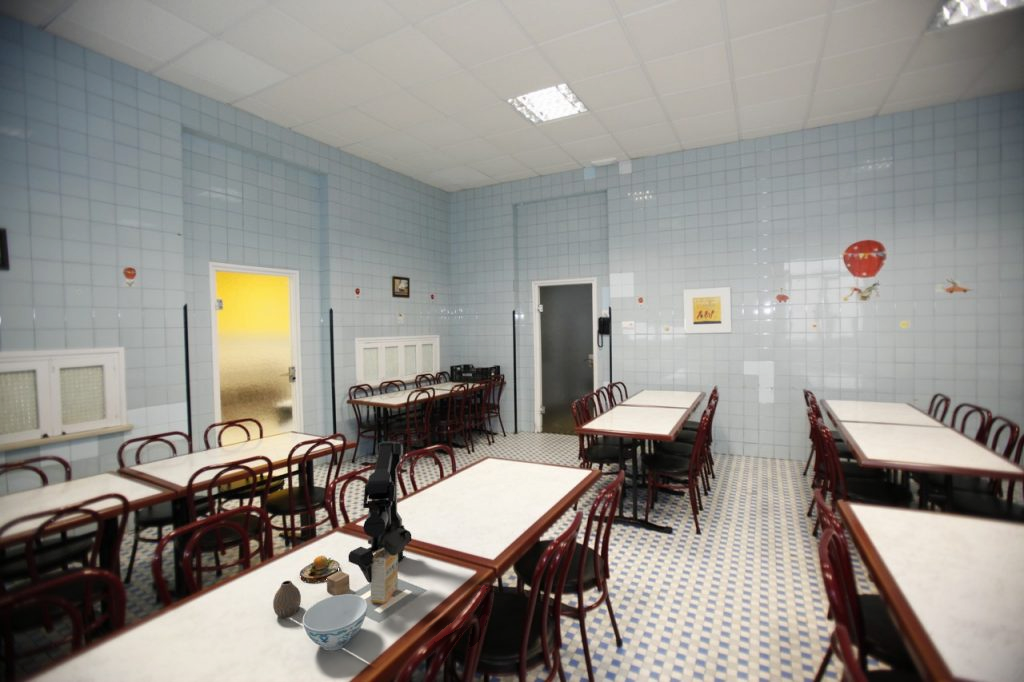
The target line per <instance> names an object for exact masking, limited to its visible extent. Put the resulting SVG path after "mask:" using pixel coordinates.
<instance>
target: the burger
mask: <svg viewBox="0 0 1024 682" xmlns="http://www.w3.org/2000/svg"><path fill="white" fill-rule="evenodd" d="M331 558H332V557H329V558H327V557H326V555H325V556H324V555H318V556H315V558H314V559H313V562H312V563H309V564H308V565H306V566H304V567H303V568H302V569H301V570H300V572H299V577H300V576H301V577H300V578H301V579H302V580H303V582H304V581H306V582H305V583H307V582H308V583H312V582H314V583H315V582H317V583H319V582H318V581H320V582H322V581H323V582H325V581H324V580H326V579H327V577H329V576H331V575H333V574H335V573H337V572H338V568H339V567H340V563H339V562H338V561H336V560H334V559H331ZM301 579H300V580H301ZM326 581H327V580H326Z"/></svg>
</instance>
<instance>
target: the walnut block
mask: <svg viewBox="0 0 1024 682" xmlns="http://www.w3.org/2000/svg"><path fill="white" fill-rule="evenodd" d="M349 590H350V575H349V574H348V573H346V572H344V571H341V570H340V571H338V572H337V573H335V574H333V575H331V576H329V577H327V580H326V592H327V593H328V594H330V595H333V596H336V595H343V594H344V593H345V592H347V591H349Z"/></svg>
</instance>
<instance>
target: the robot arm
mask: <svg viewBox="0 0 1024 682" xmlns="http://www.w3.org/2000/svg"><path fill="white" fill-rule="evenodd" d="M403 452H404V446H403V444H402V443H400V442H399V441H397V442H396V441H395V442H393V441H381V442H380V443H378V444H376V445H375V457H376V458H377V459H376V463H375V466H374V467H375V468H374V472H372V473H370V475H369V476H368V479H367V482H366V483H365V485H364V492H363V493H364V494H363V506H362V508H363V509H368V514H367V516H366V518H365V521H364V524H363V527H362V528H363V531H364V533H365V535H366V536H368V537H370V538H369V539H368V540H367V544H368V545H370V547H368V548H365V547H363V546H359V547H357V548H355V549H353V550H350V552H349V553H348V556H347V557H348V562H349V563H351V564H353V565H355V566H358V567H359V569H360V571H361V572H362V574H363V576H364V578H365V580H366V582H367V583H368V584H370V583H371V579H372V572H371V566H372V564H373V563H374V561H372V560H373V555H374V554H375V553H376V552H378V551H380V550H382V549H385V550H386V551H388V552H389V554H390V555H392V556H395V555H397V554H398V563H400V562H402V560H404V559H406V558H407V556H405V555H404V551H405V548H406V546H407V545H409V543H410V542H411V541H412V533H411V532H410V531H409V530H407V529H406V528H405V525H403V518H402V517H401V516H400V514H399V512H398V479H397V477H398V476H397V473H398V471H397V468H398V466H399V464H400V463H401V461H402V456H403V454H404V453H403Z"/></svg>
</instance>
